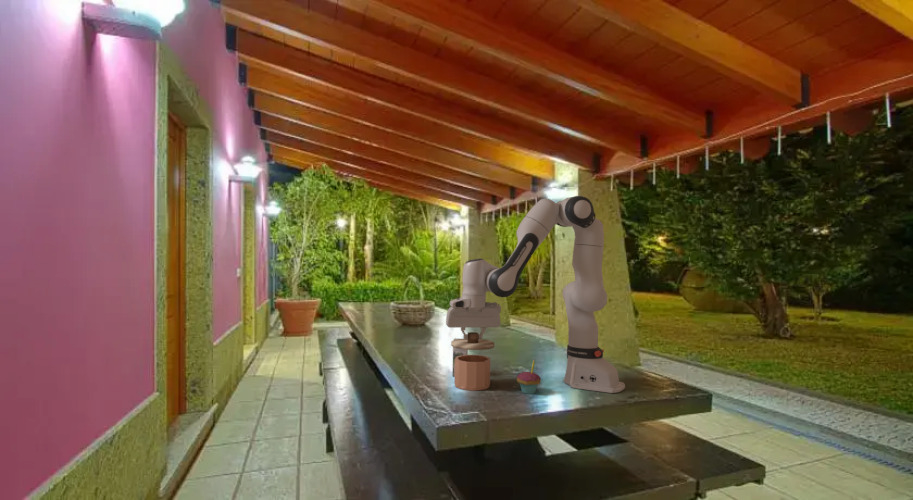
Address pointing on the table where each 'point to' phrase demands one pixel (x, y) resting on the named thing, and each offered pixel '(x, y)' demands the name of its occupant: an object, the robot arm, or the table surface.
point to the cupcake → (528, 381)
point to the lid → (472, 343)
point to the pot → (472, 372)
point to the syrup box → (457, 353)
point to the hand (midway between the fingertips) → (472, 339)
